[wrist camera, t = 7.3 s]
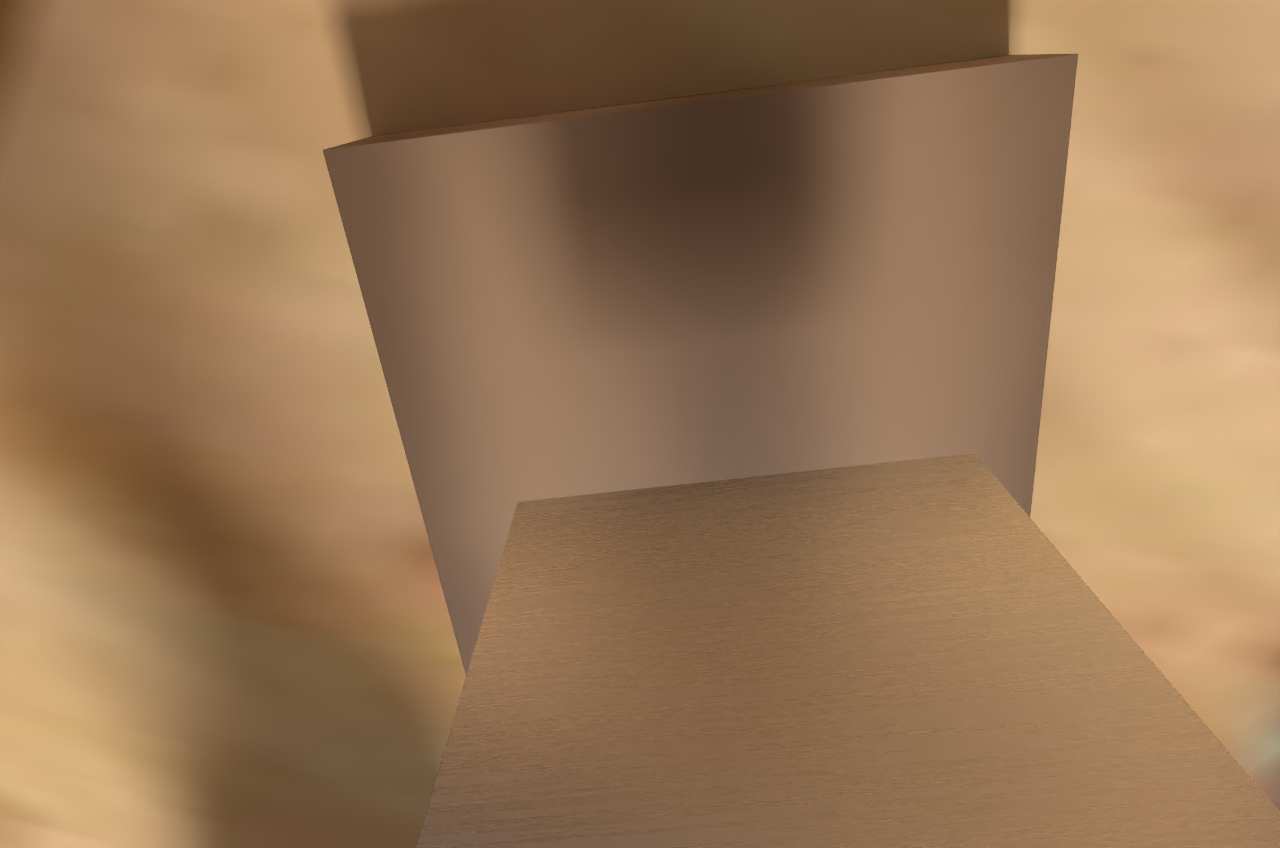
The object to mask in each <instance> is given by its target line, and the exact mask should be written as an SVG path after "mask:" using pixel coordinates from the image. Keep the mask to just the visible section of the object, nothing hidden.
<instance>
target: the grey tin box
mask: <svg viewBox="0 0 1280 848" xmlns="http://www.w3.org/2000/svg"><path fill="white" fill-rule="evenodd" d="M416 848H1280V811H1279V810H1278V809H1277V808H1276V807H1275V805H1274V804H1273V803H1272V802H1271V801H1270V800H1269V798H1268V797H1267V796H1266V795H1265V794H1264V793H1263V791H1262V790H1261V789H1260V788H1259V787H1258V785H1257V784H1256V783H1255V782H1254V781H1253V780H1252V778H1251V777H1250V776H1249V775H1248V774H1247V773H1246V771H1245V770H1244V769H1243V768H1242V767H1241V765H1240V764H1239V763H1238V762H1237V761H1236V760H1235V758H1234V757H1233V756H1232V755H1231V754H1230V753H1229V751H1228V750H1227V749H1226V748H1225V747H1224V745H1223V744H1222V743H1221V742H1220V741H1219V740H1218V738H1217V737H1216V736H1215V735H1214V734H1213V732H1212V731H1211V730H1210V729H1209V728H1208V727H1207V725H1206V724H1205V723H1204V722H1203V721H1202V720H1201V718H1200V717H1199V716H1198V715H1197V714H1196V712H1195V711H1194V710H1193V709H1192V708H1191V707H1190V705H1189V704H1188V703H1187V702H1186V701H1185V700H1184V698H1183V697H1182V696H1181V695H1180V694H1179V692H1178V691H1177V690H1176V689H1175V688H1174V687H1173V685H1172V684H1171V683H1170V682H1169V681H1168V680H1167V678H1166V677H1165V676H1164V675H1163V674H1162V672H1161V671H1160V670H1159V669H1158V668H1157V667H1156V665H1155V664H1154V663H1153V662H1152V661H1151V660H1150V658H1149V657H1148V656H1147V655H1146V654H1145V652H1144V651H1143V650H1142V649H1141V648H1140V647H1139V645H1138V644H1137V643H1136V642H1135V641H1134V640H1133V638H1132V637H1131V636H1130V635H1129V634H1128V632H1127V631H1126V630H1125V629H1124V628H1123V627H1122V625H1121V624H1120V623H1119V622H1118V621H1117V619H1116V618H1115V617H1114V616H1113V615H1112V614H1111V612H1110V611H1109V610H1108V609H1107V608H1106V607H1105V605H1104V604H1103V603H1102V602H1101V601H1100V599H1099V598H1098V597H1097V596H1096V595H1095V594H1094V592H1093V591H1092V590H1091V589H1090V588H1089V587H1088V585H1087V584H1086V583H1085V582H1084V581H1083V579H1082V578H1081V577H1080V576H1079V575H1078V574H1077V572H1076V571H1075V570H1074V569H1073V568H1072V567H1071V565H1070V564H1069V563H1068V562H1067V561H1066V559H1065V558H1064V557H1063V556H1062V555H1061V554H1060V552H1059V551H1058V550H1057V549H1056V548H1055V547H1054V545H1053V544H1052V543H1051V542H1050V541H1049V539H1048V538H1047V537H1046V536H1045V535H1044V534H1043V532H1042V531H1041V530H1040V529H1039V528H1038V527H1037V525H1036V524H1035V523H1034V522H1033V521H1032V519H1031V518H1030V517H1029V516H1028V515H1027V514H1026V512H1025V511H1024V510H1023V509H1022V508H1021V506H1020V505H1019V504H1018V503H1017V502H1016V501H1015V499H1014V498H1013V497H1012V496H1011V495H1010V494H1009V492H1008V491H1007V490H1006V489H1005V488H1004V486H1003V485H1002V484H1001V483H1000V482H999V481H998V479H997V478H996V477H995V476H994V475H993V474H992V472H991V471H990V470H989V469H988V468H987V466H986V465H985V464H984V463H983V462H982V461H981V459H980V458H979V457H978V456H977V455H976V454H975V453H970V454H961V455H951V456H942V457H933V458H923V459H914V460H905V461H895V462H886V463H877V464H867V465H858V466H849V467H839V468H830V469H821V470H811V471H802V472H793V473H783V474H774V475H765V476H755V477H746V478H737V479H727V480H718V481H709V482H699V483H690V484H681V485H671V486H662V487H653V488H643V489H634V490H625V491H615V492H606V493H597V494H587V495H578V496H569V497H559V498H550V499H541V500H531V501H522V502H518V503H517V506H516V509H515V513H514V516H513V520H512V523H511V526H510V530H509V533H508V537H507V540H506V543H505V547H504V550H503V554H502V557H501V560H500V564H499V567H498V571H497V574H496V577H495V581H494V584H493V588H492V591H491V594H490V598H489V601H488V605H487V608H486V611H485V615H484V618H483V622H482V625H481V628H480V632H479V635H478V639H477V642H476V645H475V649H474V652H473V656H472V659H471V662H470V666H469V669H468V673H467V676H466V679H465V683H464V686H463V690H462V693H461V696H460V700H459V703H458V707H457V710H456V713H455V717H454V720H453V724H452V727H451V730H450V734H449V737H448V741H447V744H446V747H445V751H444V754H443V758H442V761H441V764H440V768H439V771H438V775H437V778H436V781H435V785H434V788H433V792H432V795H431V798H430V802H429V805H428V809H427V812H426V815H425V819H424V822H423V826H422V829H421V832H420V836H419V839H418V843H417V846H416Z"/></svg>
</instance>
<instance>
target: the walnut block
mask: <svg viewBox="0 0 1280 848" xmlns="http://www.w3.org/2000/svg"><path fill="white" fill-rule="evenodd" d="M1077 58H1078V54H1040V55H1005V56H997V57H990V58H982V59H974V60H966V61H958V62H951V63H943V64H935V65H927V66H919V67H912V68H904V69H896V70H888V71H880V72H872V73H865V74H857V75H849V76H841V77H833V78H826V79H818V80H810V81H802V82H794V83H786V84H779V85H771V86H763V87H755V88H747V89H740V90H732V91H724V92H716V93H708V94H701V95H693V96H685V97H677V98H669V99H661V100H654V101H646V102H638V103H630V104H622V105H615V106H607V107H599V108H591V109H583V110H575V111H568V112H560V113H552V114H544V115H536V116H529V117H521V118H513V119H505V120H497V121H490V122H482V123H474V124H466V125H458V126H450V127H443V128H435V129H427V130H419V131H411V132H404V133H396V134H388V135H380V136H372V137H369V138H365V139H361V140H358V141H354V142H350V143H347V144H343V145H339V146H336V147H332V148H328V149H325V150H323V153H324V156H325V160H326V164H327V167H328V171H329V175H330V178H331V182H332V186H333V189H334V193H335V197H336V200H337V204H338V208H339V211H340V215H341V219H342V222H343V226H344V230H345V233H346V237H347V241H348V244H349V248H350V252H351V255H352V259H353V263H354V266H355V270H356V274H357V277H358V281H359V285H360V288H361V292H362V296H363V299H364V303H365V307H366V310H367V314H368V318H369V321H370V325H371V329H372V332H373V336H374V340H375V343H376V347H377V351H378V354H379V358H380V362H381V365H382V369H383V373H384V376H385V380H386V384H387V387H388V391H389V395H390V398H391V402H392V406H393V409H394V413H395V417H396V420H397V424H398V428H399V431H400V435H401V438H402V442H403V446H404V449H405V453H406V457H407V460H408V464H409V468H410V471H411V475H412V479H413V482H414V486H415V490H416V493H417V497H418V501H419V504H420V508H421V512H422V515H423V519H424V523H425V526H426V530H427V534H428V537H429V541H430V545H431V548H432V552H433V556H434V559H435V563H436V567H437V570H438V574H439V578H440V581H441V585H442V589H443V592H444V596H445V600H446V603H447V607H448V611H449V614H450V618H451V622H452V625H453V629H454V633H455V636H456V640H457V644H458V647H459V651H460V655H461V658H462V662H463V666H464V669H465V673H466V676H467V673H468V669H469V666H470V662H471V659H472V656H473V652H474V649H475V645H476V642H477V639H478V635H479V632H480V628H481V625H482V622H483V618H484V615H485V611H486V608H487V605H488V601H489V598H490V594H491V591H492V588H493V584H494V581H495V577H496V574H497V571H498V567H499V564H500V560H501V557H502V554H503V550H504V547H505V543H506V540H507V537H508V533H509V530H510V526H511V523H512V520H513V516H514V513H515V509H516V506H517V503H518V502H522V501H531V500H541V499H550V498H559V497H569V496H578V495H587V494H597V493H606V492H615V491H625V490H634V489H643V488H653V487H662V486H671V485H681V484H690V483H699V482H709V481H718V480H727V479H737V478H746V477H755V476H765V475H774V474H783V473H793V472H802V471H811V470H821V469H830V468H839V467H849V466H858V465H867V464H877V463H886V462H895V461H905V460H914V459H923V458H933V457H942V456H951V455H961V454H970V453H975V454H976V455H977V456H978V457H979V458H980V459H981V461H982V462H983V463H984V464H985V465H986V466H987V468H988V469H989V470H990V471H991V472H992V474H993V475H994V476H995V477H996V478H997V479H998V481H999V482H1000V483H1001V484H1002V485H1003V486H1004V488H1005V489H1006V490H1007V491H1008V492H1009V494H1010V495H1011V496H1012V497H1013V498H1014V499H1015V501H1016V502H1017V503H1018V504H1019V505H1020V506H1021V508H1022V509H1023V510H1024V511H1025V512H1026V514H1027V515H1028V516H1029V517H1030V513H1031V503H1032V493H1033V484H1034V474H1035V464H1036V455H1037V445H1038V435H1039V426H1040V416H1041V406H1042V397H1043V387H1044V377H1045V368H1046V358H1047V348H1048V339H1049V329H1050V319H1051V310H1052V300H1053V290H1054V281H1055V271H1056V261H1057V252H1058V242H1059V232H1060V223H1061V213H1062V203H1063V194H1064V184H1065V174H1066V165H1067V155H1068V145H1069V136H1070V126H1071V116H1072V107H1073V97H1074V87H1075V77H1076V68H1077Z"/></svg>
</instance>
